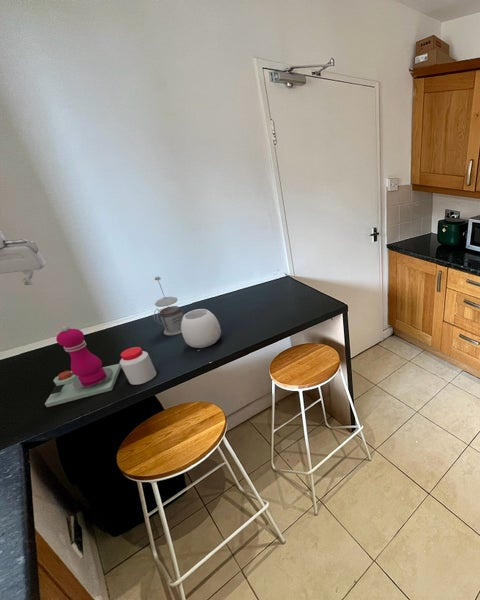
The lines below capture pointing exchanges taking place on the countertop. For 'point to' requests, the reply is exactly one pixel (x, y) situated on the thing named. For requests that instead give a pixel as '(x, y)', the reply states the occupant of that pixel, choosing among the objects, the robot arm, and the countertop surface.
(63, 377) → the button
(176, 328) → the french press
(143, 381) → the pill bottle
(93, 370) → the pepper mill
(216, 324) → the white round vase
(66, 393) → the scale
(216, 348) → the countertop surface
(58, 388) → the scale top
